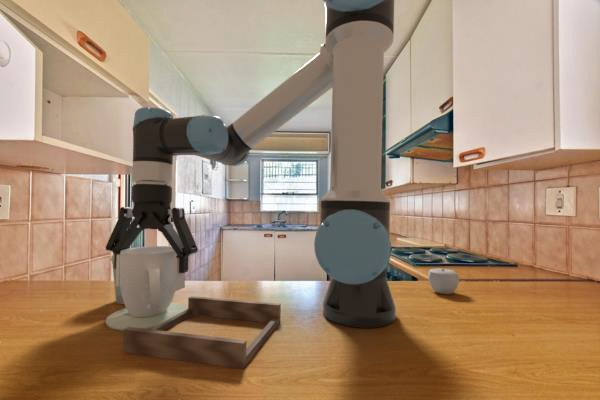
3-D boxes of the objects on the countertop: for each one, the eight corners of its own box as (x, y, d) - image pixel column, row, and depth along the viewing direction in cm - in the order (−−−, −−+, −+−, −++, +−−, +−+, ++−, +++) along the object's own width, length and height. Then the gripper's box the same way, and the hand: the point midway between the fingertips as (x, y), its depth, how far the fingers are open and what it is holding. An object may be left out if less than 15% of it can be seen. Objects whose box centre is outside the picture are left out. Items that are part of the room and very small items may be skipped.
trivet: (201, 307, 66) (201, 305, 66) (155, 335, 52) (155, 331, 52) (144, 302, 70) (144, 299, 70) (85, 326, 55) (85, 323, 55)
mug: (186, 321, 57) (188, 253, 57) (119, 334, 51) (121, 257, 51) (172, 300, 69) (173, 244, 70) (117, 309, 63) (119, 247, 64)
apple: (462, 292, 81) (462, 268, 81) (456, 298, 75) (456, 272, 75) (431, 287, 86) (431, 264, 86) (423, 293, 80) (423, 268, 80)
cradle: (280, 321, 59) (280, 303, 59) (243, 369, 41) (243, 343, 41) (190, 312, 63) (191, 296, 63) (122, 352, 46) (123, 329, 46)
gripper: (215, 185, 63) (213, 286, 62) (117, 186, 68) (114, 278, 68) (195, 182, 55) (193, 296, 55) (87, 183, 61) (84, 287, 60)
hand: (149, 286), depth 61 cm, fingers open, 13 cm apart
